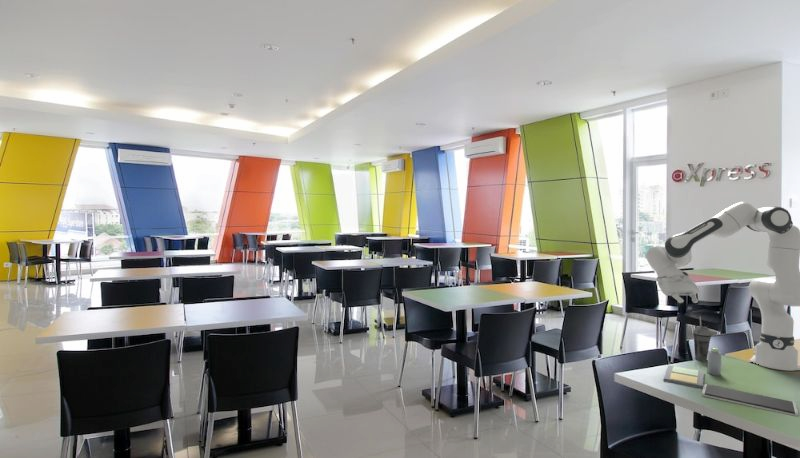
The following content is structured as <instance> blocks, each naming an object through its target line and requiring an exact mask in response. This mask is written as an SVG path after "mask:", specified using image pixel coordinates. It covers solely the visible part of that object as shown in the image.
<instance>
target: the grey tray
mask: <svg viewBox="0 0 800 458" xmlns="http://www.w3.org/2000/svg"><path fill="white" fill-rule="evenodd" d="M700 394H701V396H702V397H705V398H708V399H709V398H710V399H715V400H719V401H725V402H728V403H732V404H736V405H737V404H738V405H743V406H747V407H752V408H758V409H761V410H766V411H771V412H776V413H781V414H785V415H791V416H795V417H799V416H800V413H799V410H798V407H797V403H796V402H795V401H792V400H786V399H782V398H776V397H771V396H767V395H762V394H757V393H754V392H747V391H743V390H737V389H732V388H728V387H723V386H718V385H714V384H708V383H705V384H704V383H703V388H702V390H701V393H700Z"/></svg>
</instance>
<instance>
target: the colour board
mask: <svg viewBox="0 0 800 458" xmlns="http://www.w3.org/2000/svg"><path fill="white" fill-rule="evenodd" d="M704 377H705V371H704V370H698V369H691V368H688V367H681V366H674V365H670V364H668V365H667V367H666V371H665V374H664V377H663V381H664V382H666V381H669V382H668V383H672V382H673V384H679V385H683V386H688V387H694V388H698V387H699V388H698V389H703V387H704Z"/></svg>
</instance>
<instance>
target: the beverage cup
mask: <svg viewBox="0 0 800 458" xmlns="http://www.w3.org/2000/svg"><path fill="white" fill-rule="evenodd" d="M692 334H693V335H692V337H693V344H694V345H693V346H694V359H696V360H698V361H701V360H707V361H708V351H709V348H710V341H711V338H712V333H711V330H710V329H709V327H708V326H705V325H702V317H701V315H699V325H697V326H695V328H694V329H693V332H692Z"/></svg>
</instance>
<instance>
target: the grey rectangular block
mask: <svg viewBox="0 0 800 458" xmlns="http://www.w3.org/2000/svg"><path fill="white" fill-rule="evenodd" d="M721 372H722V352H720V350H719V348H718V347H711V349H710V350H708V356H707V374H708V375H711V374H712V375H711V376H721V374H722V373H721Z"/></svg>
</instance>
